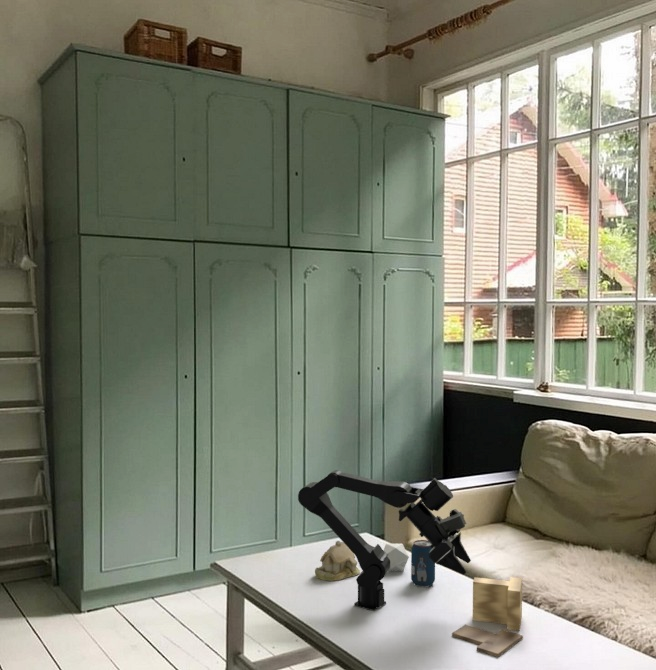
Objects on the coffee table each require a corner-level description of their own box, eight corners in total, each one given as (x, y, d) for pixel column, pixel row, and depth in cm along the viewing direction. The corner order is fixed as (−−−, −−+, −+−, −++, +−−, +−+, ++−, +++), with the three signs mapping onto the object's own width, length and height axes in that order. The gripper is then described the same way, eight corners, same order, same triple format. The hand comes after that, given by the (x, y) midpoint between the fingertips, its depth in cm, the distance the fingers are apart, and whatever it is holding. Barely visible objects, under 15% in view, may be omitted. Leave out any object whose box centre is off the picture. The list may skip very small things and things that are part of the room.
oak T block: (471, 624, 196) (471, 586, 196) (475, 610, 206) (476, 573, 205) (519, 630, 192) (520, 591, 192) (521, 615, 202) (522, 578, 202)
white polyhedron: (400, 578, 231) (416, 550, 234) (375, 563, 233) (391, 535, 235) (397, 579, 239) (412, 551, 242) (373, 564, 240) (389, 537, 243)
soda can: (428, 578, 230) (428, 538, 229) (439, 586, 223) (439, 545, 223) (407, 580, 228) (407, 540, 227) (417, 588, 221) (417, 547, 221)
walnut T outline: (445, 640, 187) (445, 637, 187) (471, 623, 197) (471, 620, 197) (498, 657, 178) (498, 653, 178) (522, 638, 188) (522, 635, 188)
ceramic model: (336, 564, 242) (337, 532, 242) (366, 572, 235) (366, 539, 235) (308, 576, 231) (308, 543, 231) (338, 585, 224) (338, 551, 224)
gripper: (441, 511, 193) (486, 559, 190) (452, 494, 211) (493, 537, 208) (410, 539, 196) (454, 587, 193) (423, 520, 213) (463, 563, 210)
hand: (467, 567), depth 201 cm, fingers open, 9 cm apart
